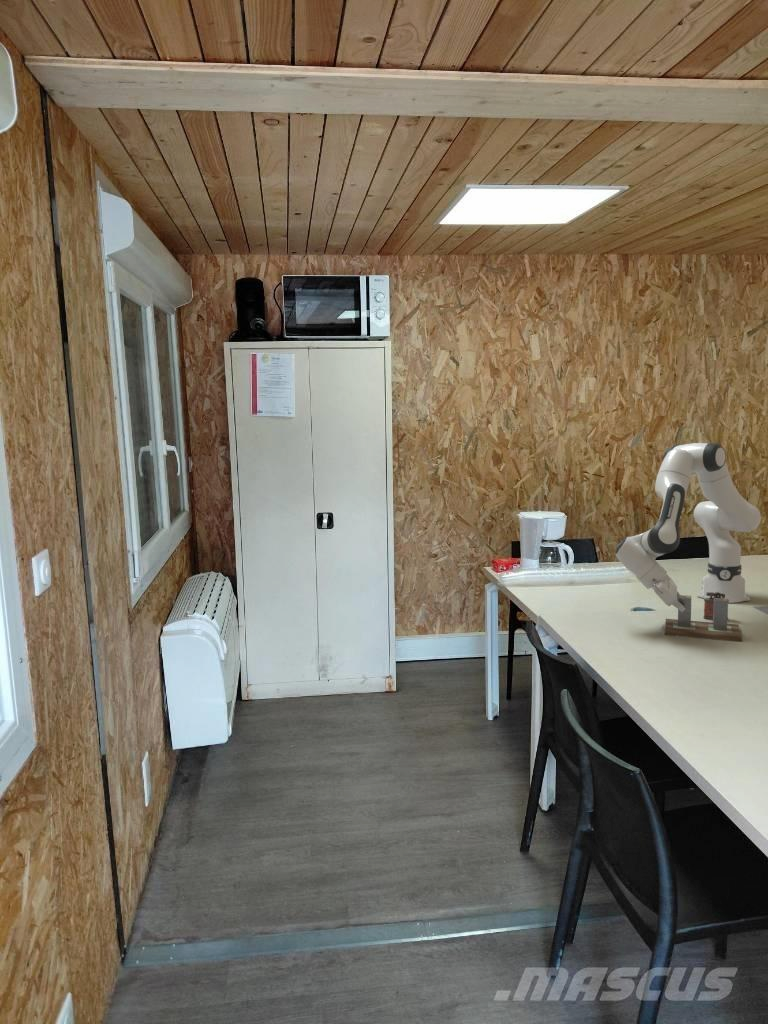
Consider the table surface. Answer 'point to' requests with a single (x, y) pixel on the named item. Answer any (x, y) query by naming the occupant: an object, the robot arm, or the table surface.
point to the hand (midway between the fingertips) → (683, 606)
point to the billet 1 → (684, 616)
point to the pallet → (703, 630)
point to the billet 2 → (720, 614)
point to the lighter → (711, 604)
